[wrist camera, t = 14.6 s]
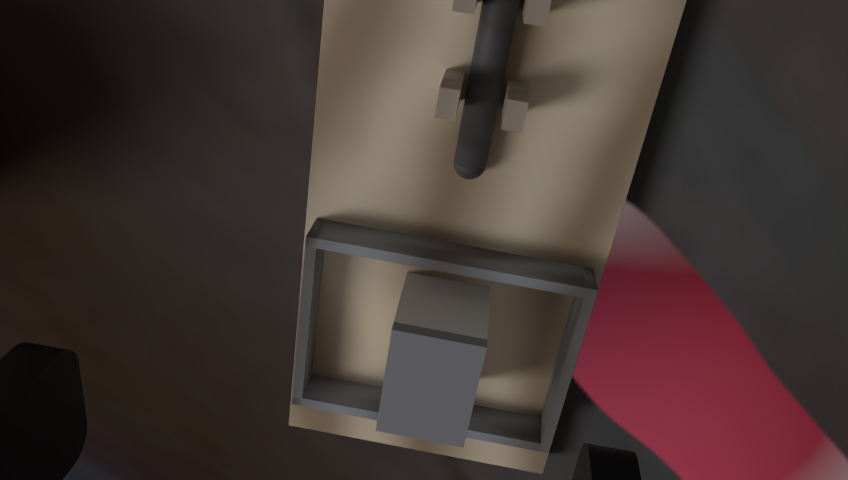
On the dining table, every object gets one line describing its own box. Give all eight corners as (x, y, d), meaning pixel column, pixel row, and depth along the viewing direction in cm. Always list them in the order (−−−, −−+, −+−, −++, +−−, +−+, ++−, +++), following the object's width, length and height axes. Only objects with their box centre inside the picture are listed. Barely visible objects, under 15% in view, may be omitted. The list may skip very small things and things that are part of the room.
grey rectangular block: (490, 287, 34) (487, 347, 29) (469, 379, 36) (463, 447, 32) (407, 271, 34) (391, 329, 30) (391, 364, 37) (375, 430, 32)
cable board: (721, -151, 26) (759, -157, 22) (541, 454, 40) (544, 517, 36) (351, -212, 27) (323, -230, 23) (296, 407, 40) (272, 464, 36)
